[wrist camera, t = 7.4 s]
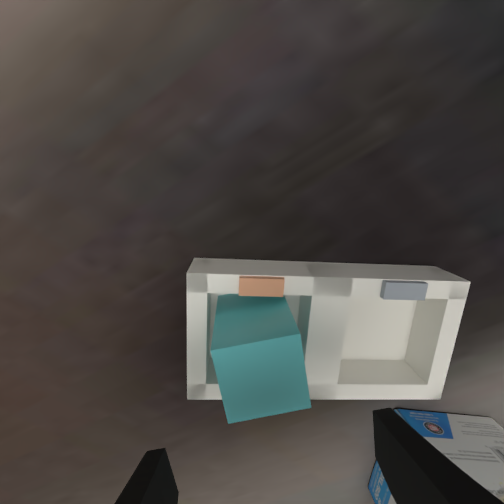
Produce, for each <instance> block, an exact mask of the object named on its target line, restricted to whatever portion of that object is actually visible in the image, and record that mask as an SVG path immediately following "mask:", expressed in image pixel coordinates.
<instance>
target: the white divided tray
mask: <svg viewBox="0 0 504 504" xmlns="http://www.w3.org/2000/svg"><path fill="white" fill-rule="evenodd" d="M470 283H471V282H470V281H468V280H466V279H463V278H461V277H459V276H456V275H454V274H452V273H450V272H447V271H445V270H443V269H440V268H438V267H436V266H419V265H390V264H361V263H331V262H302V261H273V260H244V259H215V258H194V259H193V261H192V263H191V265H190V267H189V269H188V271H187V400H222V396H221V392H220V388H219V384H218V380H217V376H216V372H215V368H214V364H213V360H212V356H211V352H210V349H211V342H212V335H213V328H214V321H215V314H216V306H217V299H218V296H219V295H225V294H239V296H266V297H283V295H284V296H285V299H286V301H287V303H288V306H289V308H290V310H291V313H292V315H293V317H294V320H295V322H296V325H297V327H298V329H299V332H300V335H301V341H302V348H303V355H304V362H305V368H306V375H307V382H308V389H309V396H310V399H441V395H442V391H443V387H444V383H445V379H446V375H447V372H448V368H449V364H450V360H451V356H452V352H453V348H454V344H455V341H456V337H457V333H458V329H459V325H460V321H461V317H462V314H463V310H464V306H465V302H466V298H467V294H468V290H469V286H470Z"/></svg>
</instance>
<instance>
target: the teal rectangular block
mask: <svg viewBox="0 0 504 504" xmlns="http://www.w3.org/2000/svg"><path fill="white" fill-rule="evenodd" d="M210 352H211V356H212V360H213V364H214V368H215V372H216V376H217V380H218V384H219V388H220V392H221V396H222V401H223V405H224V409H225V413H226V417H227V421H228V424H230V423H235V422H240V421H245V420H250V419H255V418H260V417H266V416H271V415H276V414H281V413H286V412H291V411H297V410H302V409H307V408H311V402H310V396H309V389H308V382H307V375H306V368H305V362H304V355H303V348H302V341H301V335H300V332H299V329H298V327H297V325H296V322H295V320H294V317H293V315H292V313H291V310H290V308H289V306H288V303H287V301H286V299H285V296H284V295H283V297H266V296H239V294H225V295H219V296H218V299H217V306H216V314H215V321H214V328H213V335H212V342H211V349H210Z"/></svg>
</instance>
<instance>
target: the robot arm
mask: <svg viewBox="0 0 504 504" xmlns="http://www.w3.org/2000/svg"><path fill="white" fill-rule="evenodd" d="M373 423H374V441H375V457H376V459H377V462H378V464H379V467H380V469H381V471H382V474H383V476H384V479H385V481H386V483H387V485H388V488H389V490H390V492H391V494H392V496H393V498H394V500H395V502H396V504H504V502H502V501H501V500H500V499H498V498H497V497H496V496H494V495H493V494H492V493H491V492H489V491H488V490H487V489H485V488H484V487H483V486H482V485H480V484H479V483H478V482H476V481H475V480H474V479H473V478H471V477H470V476H469V475H468V474H466V473H465V472H464V471H463V470H462V469H460V468H459V467H458V466H457V465H456V464H454V463H453V462H452V461H451V460H450V459H448V458H447V457H446V456H445V455H444V454H442V453H441V452H440V451H439V450H438V449H436V448H435V447H434V446H433V445H432V444H431V443H430V442H428V441H427V440H426V439H425V438H424V437H423V436H422V435H420V434H419V433H418V432H417V431H416V430H415V429H414V428H413V427H412V426H410V425H409V424H408V423H407V422H406V421H405V420H404V419H403V418H402V417H401V416H399V415H398V414H397V413H396V412H395V411H394V410H393V409H391V408H386V409H380V410H374V411H373ZM177 503H178V489H177V486H176V483H175V479H174V476H173V473H172V469H171V466H170V463H169V459H168V456H167V453H166V449H165V448H162V449H156V450H151V451H147V452H146V453H145V455H144V457H143V458H142V460H141V461H140V463H139V465H138V466H137V468H136V470H135V471H134V473H133V475H132V476H131V478H130V480H129V481H128V483H127V484H126V486H125V488H124V489H123V491H122V493H121V494H120V496H119V497H118V499H117V501H116V502H115V504H177Z"/></svg>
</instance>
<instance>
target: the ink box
mask: <svg viewBox="0 0 504 504" xmlns="http://www.w3.org/2000/svg"><path fill="white" fill-rule="evenodd" d="M394 411H395V412H396V413H397V414H398V415H399V416H401V417H402V418H403V419H404V420H405V421H406V422H407V423H408V424H409V425H410V426H412V427H413V428H414V429H415V430H416V431H417V432H418V433H419V434H420V435H422V436H423V437H424V438H425V439H426V440H427V441H428V442H430V443H431V444H432V445H433V446H434V447H435V448H436V449H438V450H439V451H440V452H441V453H442V454H444V455H445V456H446V457H447V458H448V459H450V460H451V461H452V462H453V463H454V464H456V465H457V466H458V467H459V468H460V469H462V470H463V471H464V472H465V473H466V474H468V475H469V476H470V477H471V478H473V479H474V480H475V481H476V482H478V483H479V484H480V485H482V486H483V487H484V488H485V489H487V490H488V491H489V492H491V493H492V494H493V495H494V496H496V497H497V498H498V499H500V500H501V501H502V502H504V429H503V428H502V427H501V426H500V425H499V424H498V423H497V422H495V421H494V420H493V419H492V418H490V417H480V416H469V415H459V414H448V413H437V412H427V411H416V410H405V409H394ZM368 488H369V490H370V493H371V495H372V497H373V500H374V502H375V504H396V502H395V500H394V498H393V496H392V494H391V492H390V490H389V488H388V485H387V483H386V481H385V479H384V476H383V474H382V471H381V469H380V467H379V464H378V462H377V460H376V463H375V466H374V469H373V472H372V475H371V479H370V482H369V486H368Z"/></svg>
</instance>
